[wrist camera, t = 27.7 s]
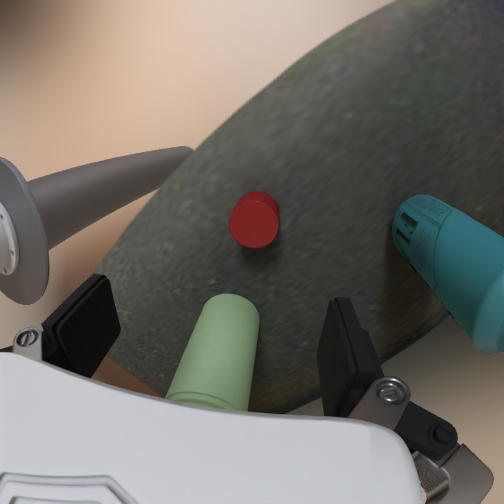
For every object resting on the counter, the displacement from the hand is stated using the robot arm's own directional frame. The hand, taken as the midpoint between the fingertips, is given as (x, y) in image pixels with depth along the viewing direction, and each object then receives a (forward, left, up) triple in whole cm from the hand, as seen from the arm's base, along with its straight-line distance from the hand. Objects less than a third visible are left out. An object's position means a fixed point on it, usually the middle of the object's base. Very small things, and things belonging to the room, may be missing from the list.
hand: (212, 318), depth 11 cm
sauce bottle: (+2, -12, -16) cm, 20 cm away
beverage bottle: (+14, +6, -16) cm, 22 cm away
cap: (0, 0, -16) cm, 16 cm away
